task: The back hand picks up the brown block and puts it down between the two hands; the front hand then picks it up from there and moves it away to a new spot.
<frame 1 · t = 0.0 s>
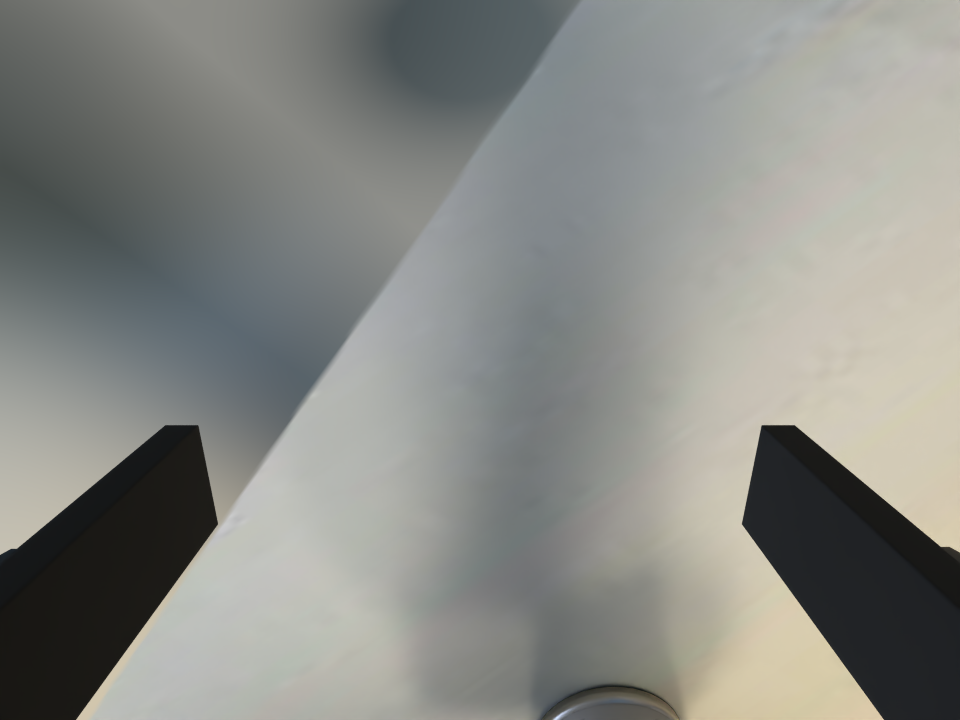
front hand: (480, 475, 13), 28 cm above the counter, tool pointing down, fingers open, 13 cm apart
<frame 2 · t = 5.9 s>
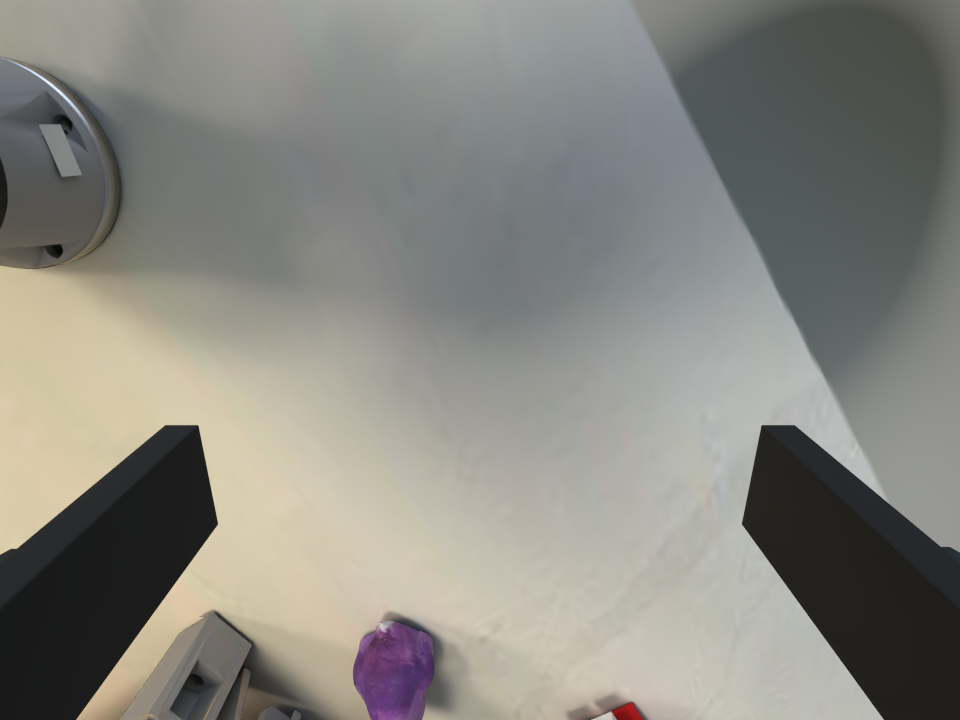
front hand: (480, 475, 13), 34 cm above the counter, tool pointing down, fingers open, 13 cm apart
figurine: (404, 651, 59), on the counter
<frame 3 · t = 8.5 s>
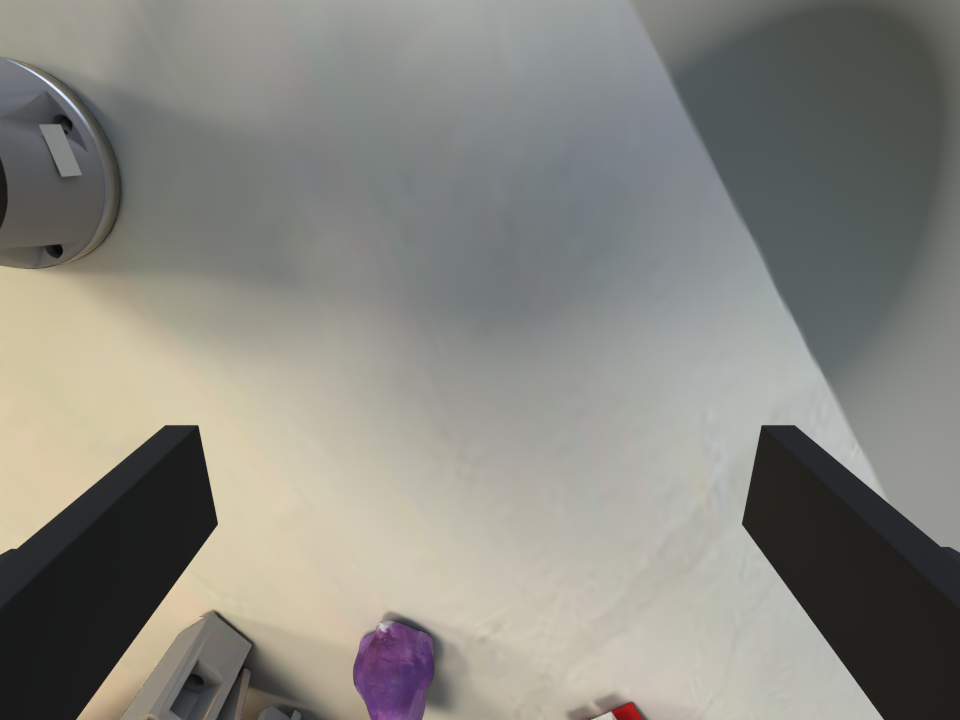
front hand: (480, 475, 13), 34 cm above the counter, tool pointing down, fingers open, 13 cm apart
figurine: (404, 651, 59), on the counter
when the back hand's fingers open (2 cm above the counter, at t = 11.2 s): brown block drops 2 cm, on the counter.
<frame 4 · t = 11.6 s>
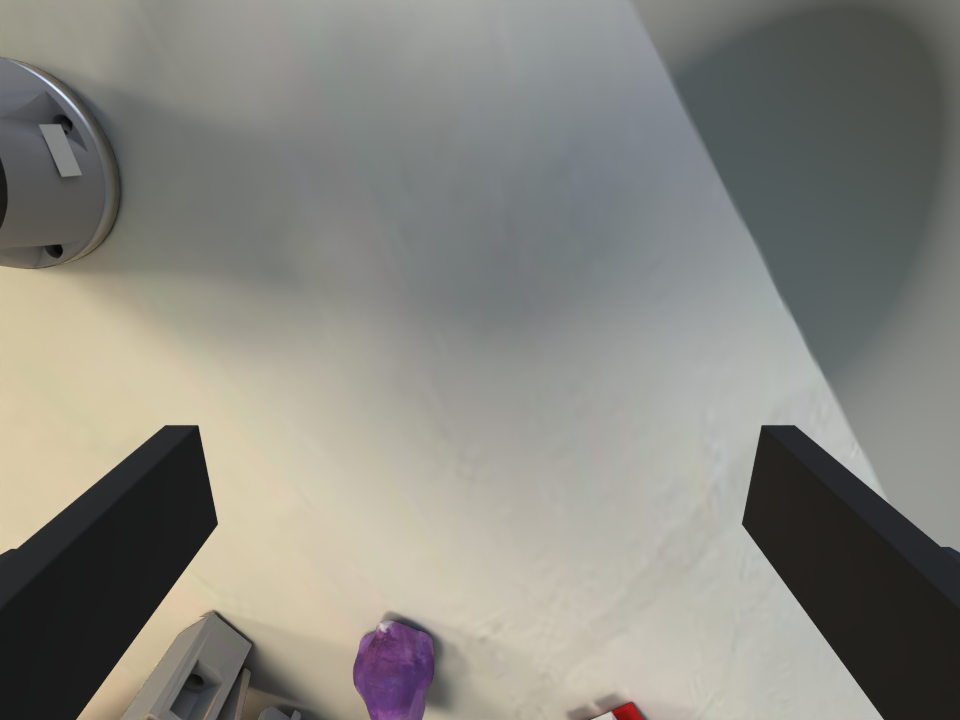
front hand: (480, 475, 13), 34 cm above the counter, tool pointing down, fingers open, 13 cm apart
figurine: (404, 651, 59), on the counter
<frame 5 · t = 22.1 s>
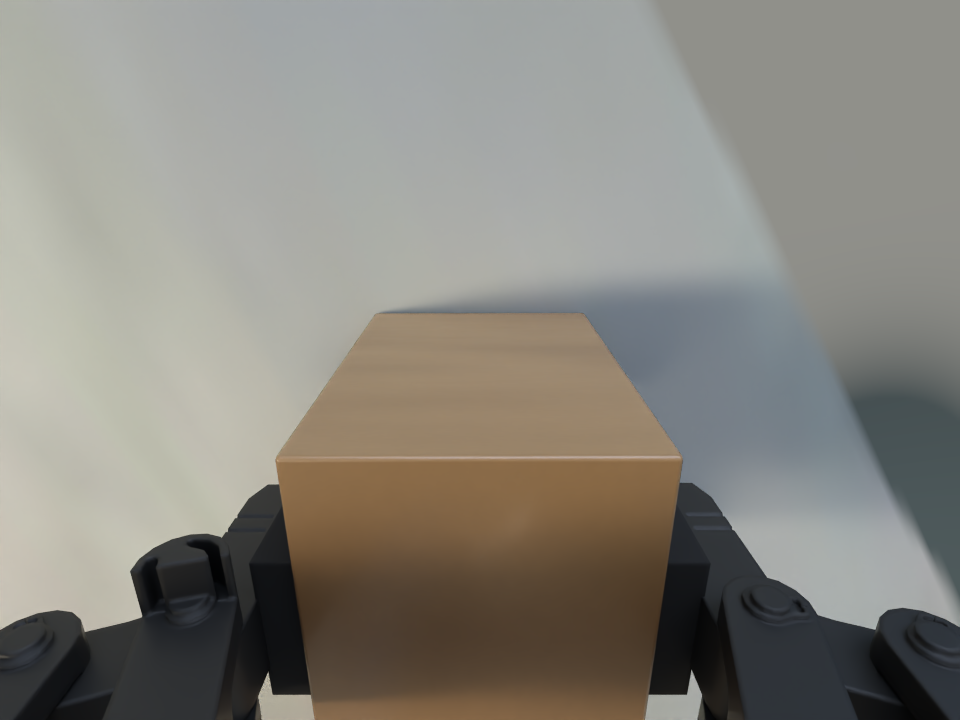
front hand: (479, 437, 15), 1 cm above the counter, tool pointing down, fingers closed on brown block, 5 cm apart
brown block: (479, 429, 15), on the counter, touching front hand
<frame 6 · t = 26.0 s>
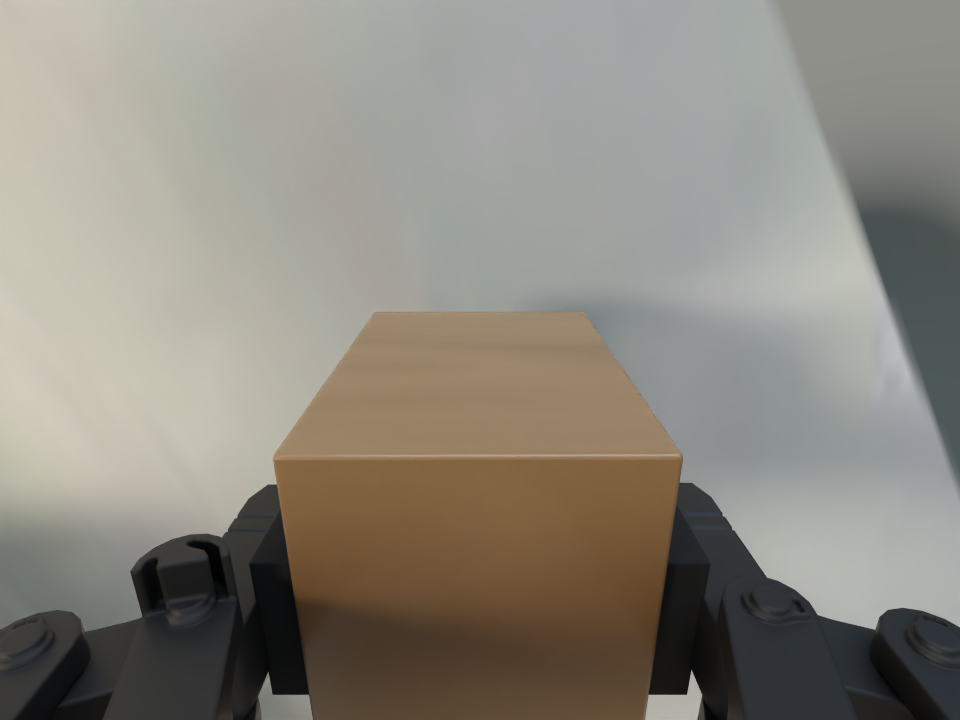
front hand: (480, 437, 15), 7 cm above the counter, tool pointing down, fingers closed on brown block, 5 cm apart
brown block: (479, 428, 15), point 6 cm above the counter, touching front hand
when the front hand's fingers open (2 cm above the counter, at t = 30.4 s): brown block drops 2 cm, on the counter.
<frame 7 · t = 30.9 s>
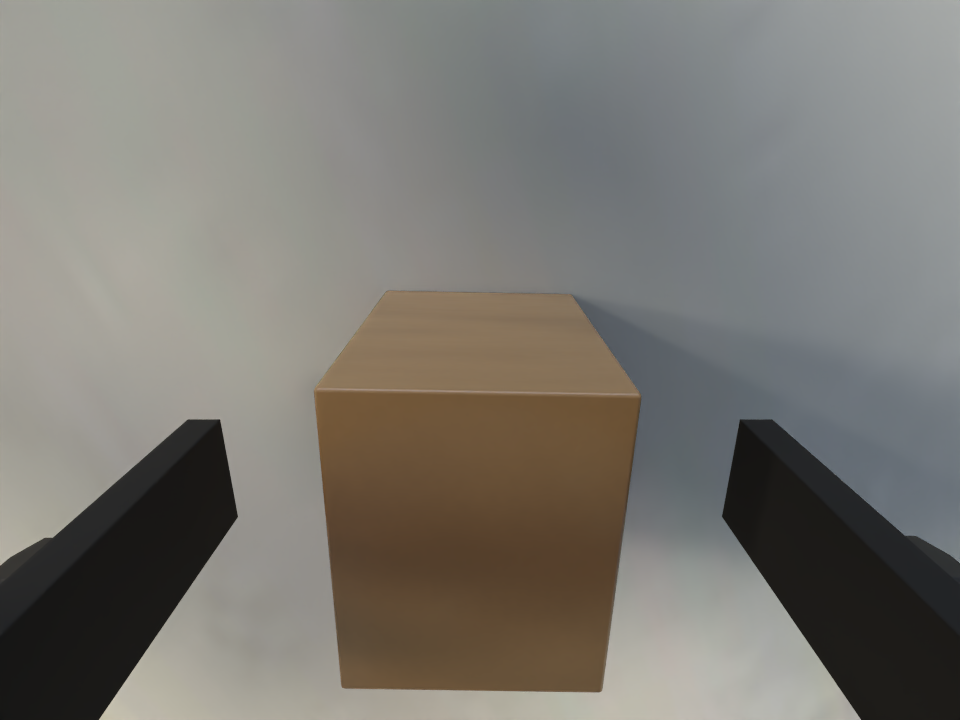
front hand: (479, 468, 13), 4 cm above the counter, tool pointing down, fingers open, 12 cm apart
brown block: (477, 398, 17), on the counter
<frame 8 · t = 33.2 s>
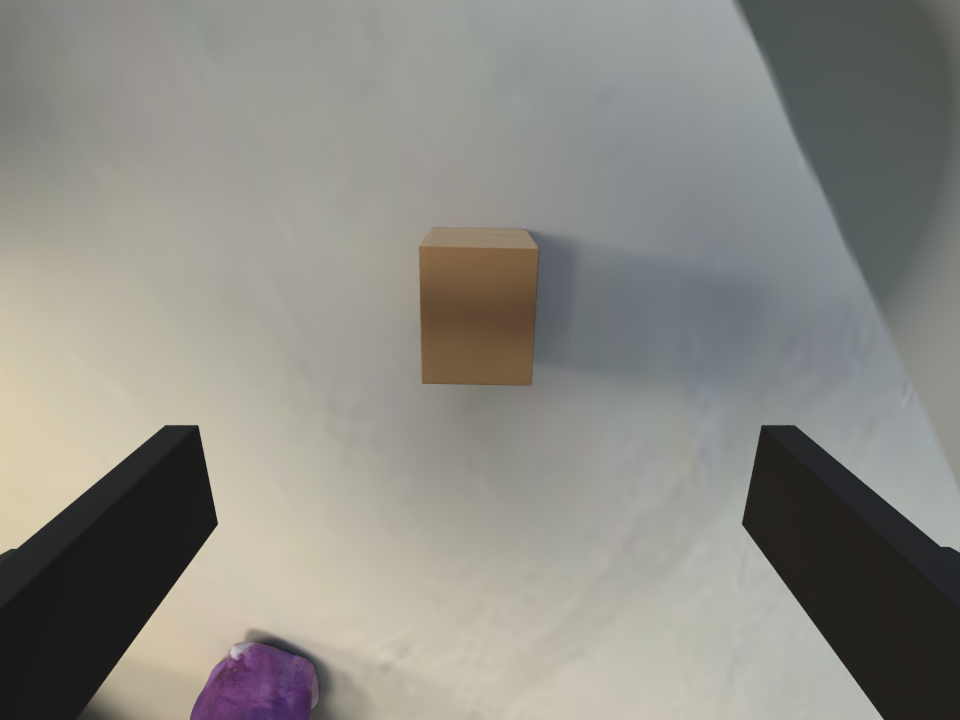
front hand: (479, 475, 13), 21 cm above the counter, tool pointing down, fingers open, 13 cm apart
brown block: (478, 286, 32), on the counter
figurine: (278, 682, 43), on the counter
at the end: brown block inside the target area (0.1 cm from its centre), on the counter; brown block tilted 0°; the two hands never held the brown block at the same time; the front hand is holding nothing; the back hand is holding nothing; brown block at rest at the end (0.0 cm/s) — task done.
